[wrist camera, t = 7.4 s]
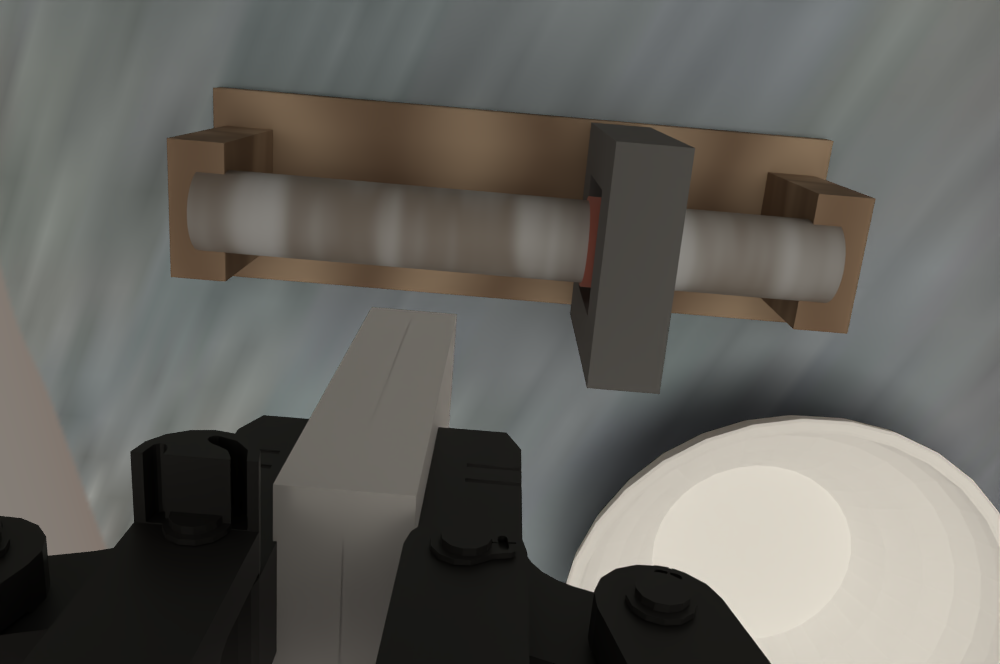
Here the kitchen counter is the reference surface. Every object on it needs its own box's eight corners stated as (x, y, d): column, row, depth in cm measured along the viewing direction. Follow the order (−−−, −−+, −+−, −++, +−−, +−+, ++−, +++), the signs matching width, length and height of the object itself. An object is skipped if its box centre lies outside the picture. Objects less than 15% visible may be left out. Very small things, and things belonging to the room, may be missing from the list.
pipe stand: (222, 269, 40) (145, 323, 31) (221, 87, 37) (137, 93, 29) (791, 317, 40) (864, 383, 32) (825, 139, 38) (913, 160, 29)
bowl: (595, 738, 47) (607, 847, 41) (511, 411, 42) (511, 476, 35) (963, 671, 45) (1038, 773, 39) (927, 321, 40) (1008, 371, 33)
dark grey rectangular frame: (570, 313, 37) (587, 387, 29) (591, 122, 35) (616, 141, 26) (625, 318, 37) (659, 394, 29) (650, 127, 35) (695, 148, 26)
